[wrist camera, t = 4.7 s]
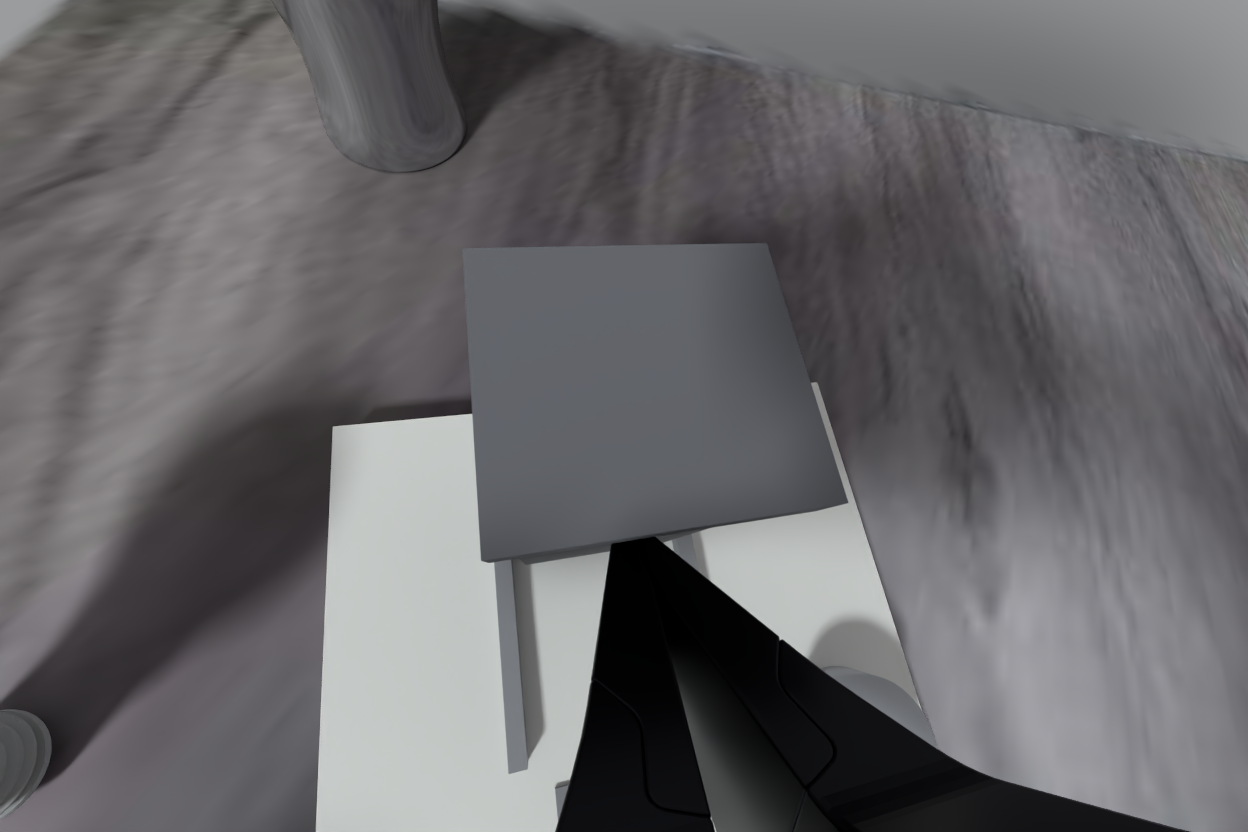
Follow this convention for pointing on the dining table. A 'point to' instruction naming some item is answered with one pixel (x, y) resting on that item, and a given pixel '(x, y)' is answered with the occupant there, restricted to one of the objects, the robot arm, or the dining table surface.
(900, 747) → the robot arm
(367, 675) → the panel
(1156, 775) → the dining table surface
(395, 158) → the beer glass
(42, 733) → the light bulb
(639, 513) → the grey lidded box
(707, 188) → the dining table surface
